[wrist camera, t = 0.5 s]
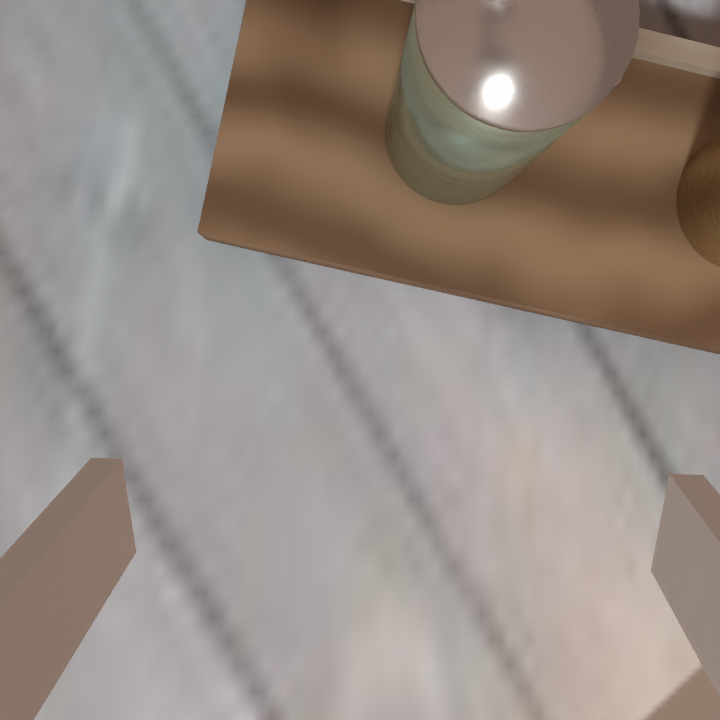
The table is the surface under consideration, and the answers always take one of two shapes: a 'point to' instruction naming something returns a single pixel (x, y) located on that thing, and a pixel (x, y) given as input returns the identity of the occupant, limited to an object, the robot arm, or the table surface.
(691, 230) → the mustard tin
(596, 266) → the wooden tray
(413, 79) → the green tin
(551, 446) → the table surface
